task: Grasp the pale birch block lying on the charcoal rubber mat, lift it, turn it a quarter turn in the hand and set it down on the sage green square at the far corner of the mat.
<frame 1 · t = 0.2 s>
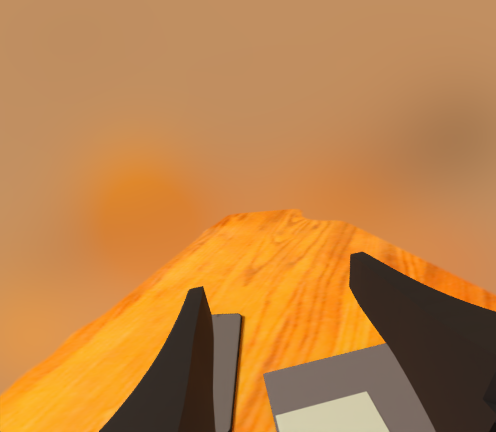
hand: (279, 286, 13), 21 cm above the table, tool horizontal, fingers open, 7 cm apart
smartphone: (210, 368, 33), on the table
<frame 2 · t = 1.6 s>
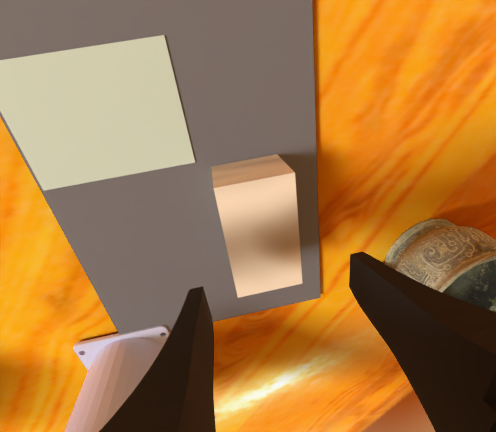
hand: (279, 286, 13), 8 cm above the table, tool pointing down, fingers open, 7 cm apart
rubber mat: (189, 183, 19), on the table
birch block: (252, 212, 20), resting on rubber mat
vessel: (420, 253, 25), on the table
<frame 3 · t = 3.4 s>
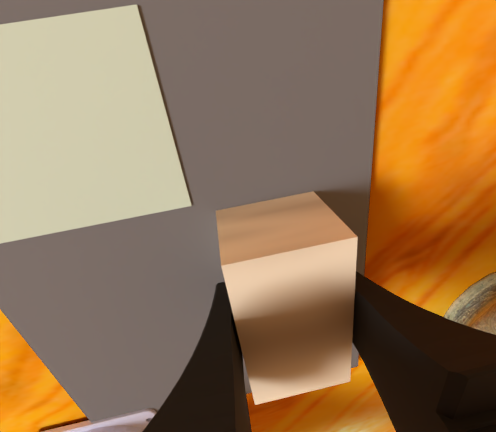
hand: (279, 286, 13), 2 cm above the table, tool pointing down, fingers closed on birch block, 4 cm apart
rubber mat: (182, 233, 13), on the table
birch block: (274, 270, 14), resting on rubber mat, touching gripper
vessel: (487, 307, 19), on the table
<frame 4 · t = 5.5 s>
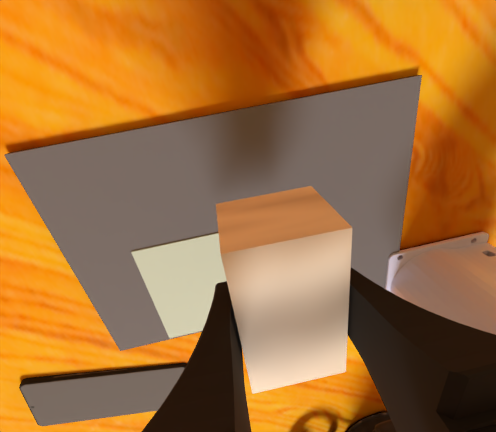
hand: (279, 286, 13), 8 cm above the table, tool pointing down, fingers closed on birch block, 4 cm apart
milk frother: (347, 430, 39), on the table
rubber mat: (245, 233, 21), on the table
birch block: (272, 263, 14), point 7 cm above the table, touching gripper
smartphone: (115, 386, 28), on the table
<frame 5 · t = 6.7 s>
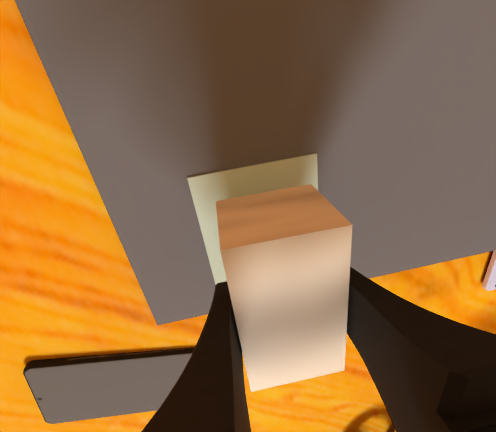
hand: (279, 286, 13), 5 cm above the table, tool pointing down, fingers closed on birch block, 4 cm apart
rubber mat: (339, 160, 15), on the table
birch block: (271, 261, 14), point 3 cm above the table, touching gripper
smartphone: (144, 373, 22), on the table
when the fingers open (3 cm above the table, at t = 7.9 s): birch block stays where it is, resting on rubber mat.
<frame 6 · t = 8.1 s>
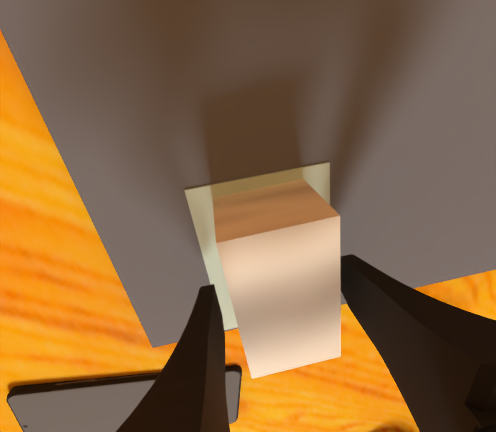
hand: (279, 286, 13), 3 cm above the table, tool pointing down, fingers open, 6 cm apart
rubber mat: (353, 169, 14), on the table
birch block: (268, 254, 15), resting on rubber mat
smartphone: (139, 396, 21), on the table
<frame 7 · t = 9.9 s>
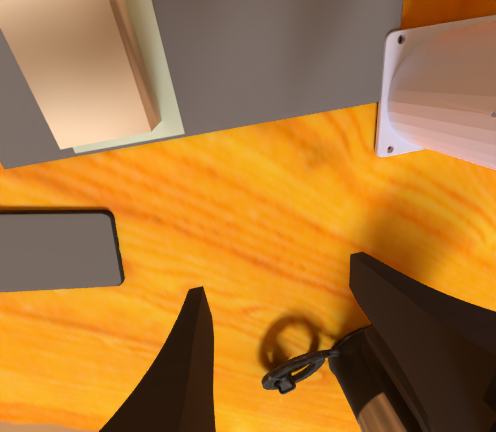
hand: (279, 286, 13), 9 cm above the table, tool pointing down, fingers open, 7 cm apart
milk frother: (332, 353, 32), on the table
birch block: (99, 54, 15), resting on rubber mat
smartphone: (16, 247, 21), on the table
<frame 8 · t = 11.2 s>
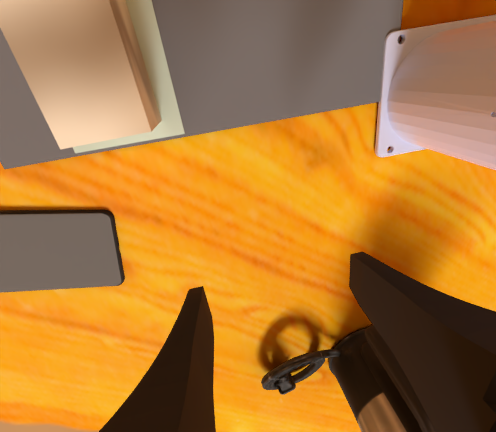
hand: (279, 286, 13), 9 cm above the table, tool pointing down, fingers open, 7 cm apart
milk frother: (331, 353, 32), on the table
birch block: (99, 54, 15), resting on rubber mat
smartphone: (16, 247, 21), on the table
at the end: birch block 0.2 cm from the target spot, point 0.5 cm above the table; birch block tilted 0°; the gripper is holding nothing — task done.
